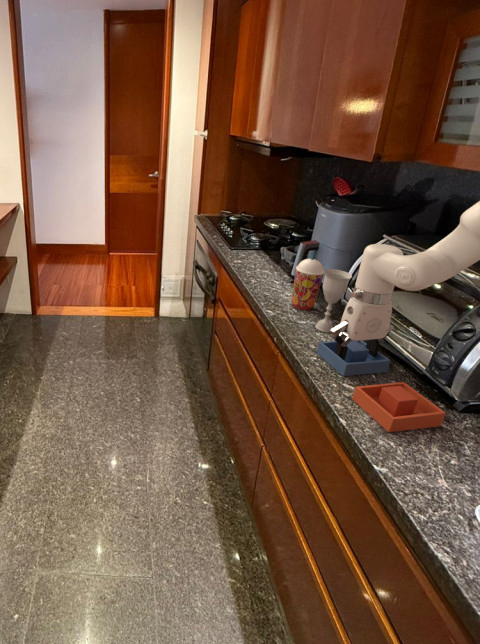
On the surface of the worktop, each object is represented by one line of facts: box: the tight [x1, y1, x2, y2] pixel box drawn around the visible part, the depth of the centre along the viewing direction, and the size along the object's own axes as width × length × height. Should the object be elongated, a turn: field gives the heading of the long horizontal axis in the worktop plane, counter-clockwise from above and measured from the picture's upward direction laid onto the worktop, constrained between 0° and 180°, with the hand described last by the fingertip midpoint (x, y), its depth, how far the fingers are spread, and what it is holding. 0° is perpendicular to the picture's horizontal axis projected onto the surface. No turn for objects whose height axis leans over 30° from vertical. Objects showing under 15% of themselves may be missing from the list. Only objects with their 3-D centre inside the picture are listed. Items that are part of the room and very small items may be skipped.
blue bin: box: [316, 339, 391, 377], centre depth 101 cm, size 12×10×4 cm
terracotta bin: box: [351, 381, 447, 433], centre depth 84 cm, size 12×10×4 cm
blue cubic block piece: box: [344, 341, 369, 363], centre depth 101 cm, size 4×4×4 cm
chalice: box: [314, 268, 353, 333], centre depth 115 cm, size 7×7×18 cm
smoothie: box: [291, 250, 325, 311], centre depth 127 cm, size 8×8×20 cm
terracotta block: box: [377, 386, 418, 417], centre depth 84 cm, size 4×4×4 cm
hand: (354, 355), depth 100 cm, fingers open, 8 cm apart
